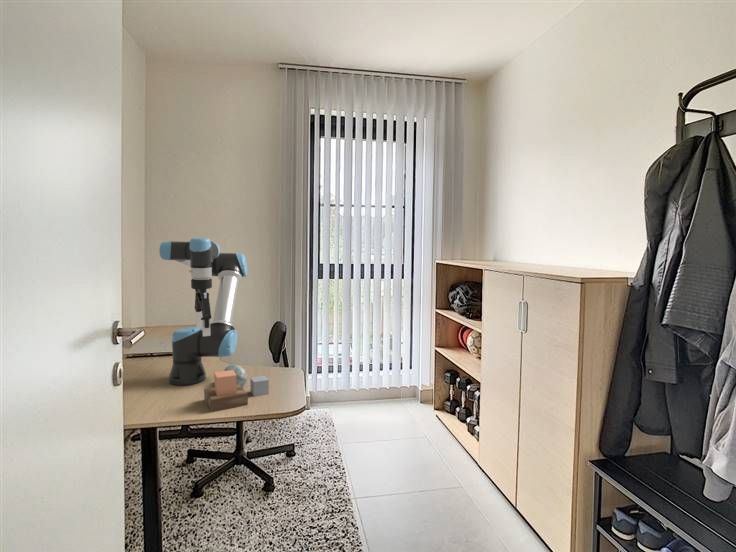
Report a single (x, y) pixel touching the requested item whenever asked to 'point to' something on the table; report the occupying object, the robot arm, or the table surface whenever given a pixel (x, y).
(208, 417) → the table surface
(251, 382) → the grey cube
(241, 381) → the yarn skein
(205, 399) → the walnut block
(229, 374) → the terracotta cube
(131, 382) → the table surface
